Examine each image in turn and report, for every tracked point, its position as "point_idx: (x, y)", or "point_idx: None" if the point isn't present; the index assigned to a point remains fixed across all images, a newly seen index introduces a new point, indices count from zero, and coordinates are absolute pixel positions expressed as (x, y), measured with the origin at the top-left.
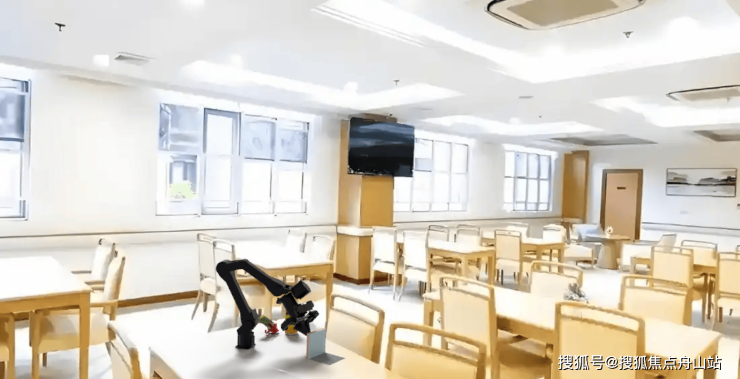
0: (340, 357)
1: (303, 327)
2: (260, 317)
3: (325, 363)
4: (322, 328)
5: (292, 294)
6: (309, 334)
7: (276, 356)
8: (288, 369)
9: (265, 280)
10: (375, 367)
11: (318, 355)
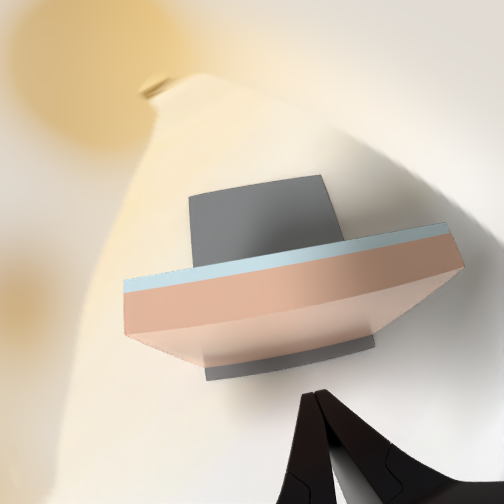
0: (199, 216)
1: (427, 471)
2: None
3: (325, 199)
4: (147, 319)
5: None
6: (446, 229)
7: (465, 464)
8: (491, 264)
9: None
10: (184, 97)
11: None
